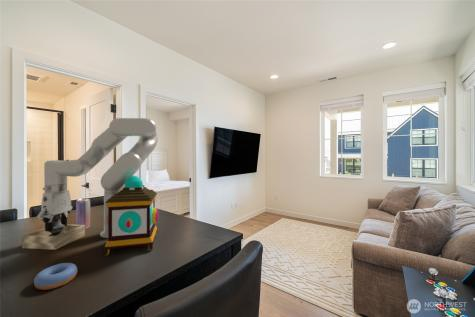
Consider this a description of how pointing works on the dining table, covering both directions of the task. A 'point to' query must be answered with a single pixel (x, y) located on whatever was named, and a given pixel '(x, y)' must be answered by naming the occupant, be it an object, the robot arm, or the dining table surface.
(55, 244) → the box
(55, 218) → the salt shaker
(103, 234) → the robot arm
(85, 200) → the beverage can
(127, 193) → the decorative lantern
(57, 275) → the doughnut
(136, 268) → the dining table surface
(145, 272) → the dining table surface
